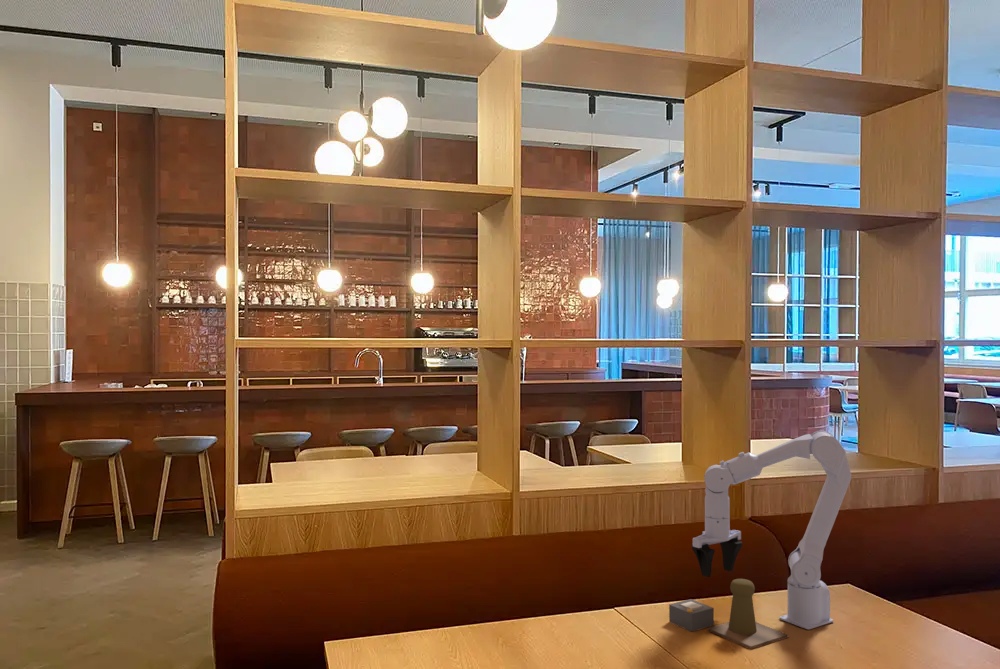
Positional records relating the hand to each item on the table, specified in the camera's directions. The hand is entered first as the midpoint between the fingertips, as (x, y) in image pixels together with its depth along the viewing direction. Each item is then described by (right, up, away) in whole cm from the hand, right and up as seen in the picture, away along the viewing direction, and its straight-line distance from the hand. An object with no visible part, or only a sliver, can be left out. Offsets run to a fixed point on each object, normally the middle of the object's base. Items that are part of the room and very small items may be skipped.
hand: (717, 573), depth 183 cm
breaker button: (-8, -8, -7) cm, 13 cm away
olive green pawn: (+2, -9, -12) cm, 15 cm away
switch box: (-8, -10, -7) cm, 14 cm away
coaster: (+3, -10, -13) cm, 16 cm away
